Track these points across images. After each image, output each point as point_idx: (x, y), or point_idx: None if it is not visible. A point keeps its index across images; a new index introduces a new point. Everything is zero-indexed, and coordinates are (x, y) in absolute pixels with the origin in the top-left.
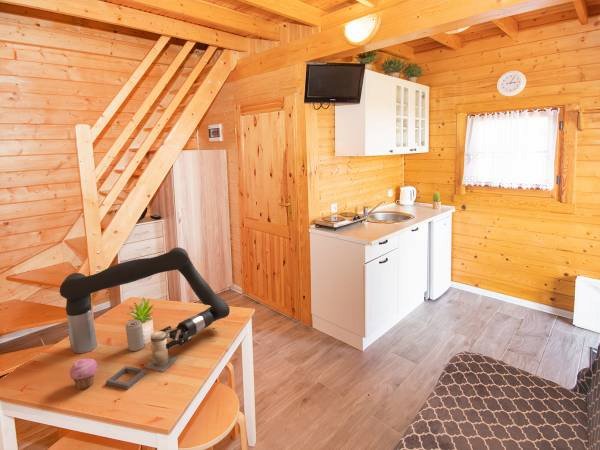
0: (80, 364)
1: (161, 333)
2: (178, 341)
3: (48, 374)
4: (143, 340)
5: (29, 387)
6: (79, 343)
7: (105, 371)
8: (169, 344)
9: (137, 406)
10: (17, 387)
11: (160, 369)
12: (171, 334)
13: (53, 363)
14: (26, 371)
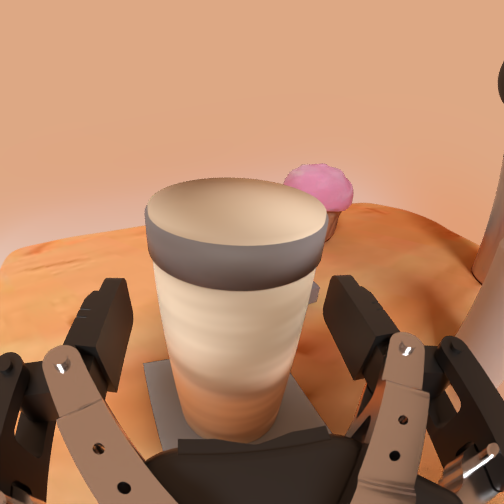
0: (309, 164)
1: (237, 215)
2: (32, 363)
3: (404, 229)
4: (485, 370)
5: (372, 212)
6: (482, 242)
7: (350, 271)
8: (94, 296)
9: (101, 250)
10: (382, 209)
11: (169, 364)
12: (276, 439)
13: (443, 241)
14: (428, 223)
